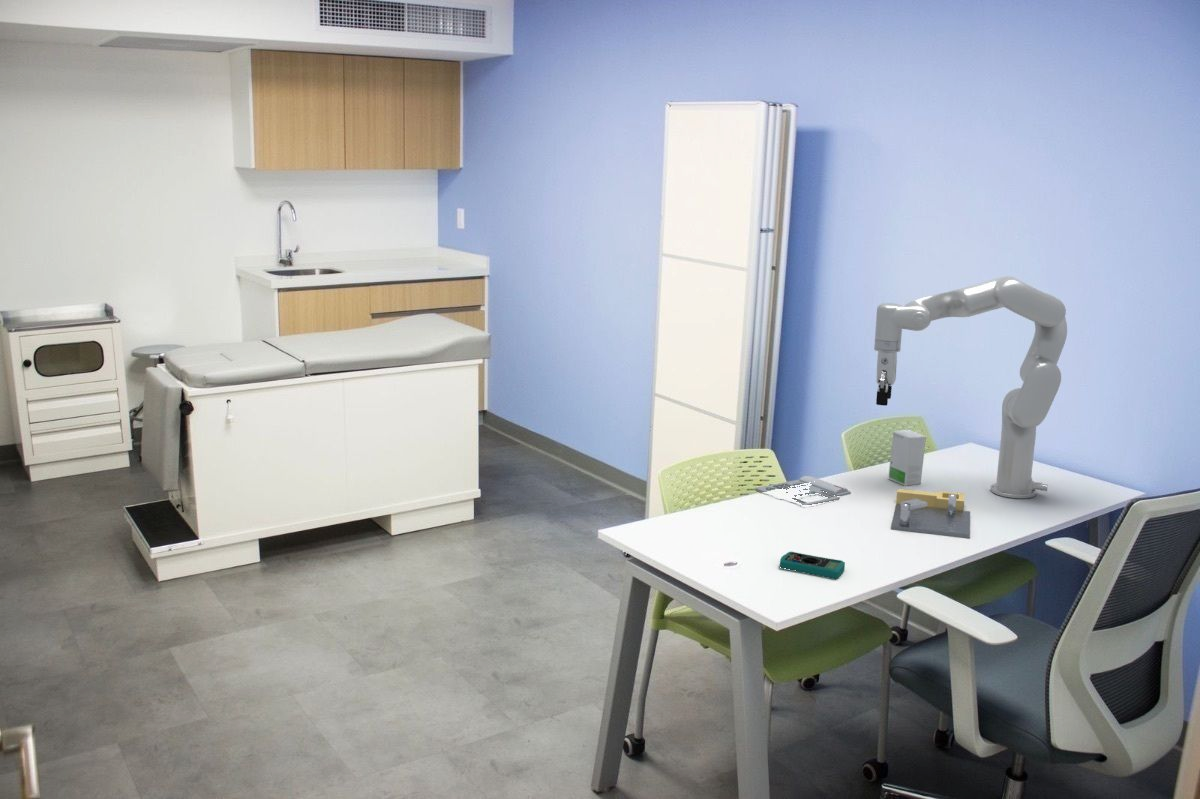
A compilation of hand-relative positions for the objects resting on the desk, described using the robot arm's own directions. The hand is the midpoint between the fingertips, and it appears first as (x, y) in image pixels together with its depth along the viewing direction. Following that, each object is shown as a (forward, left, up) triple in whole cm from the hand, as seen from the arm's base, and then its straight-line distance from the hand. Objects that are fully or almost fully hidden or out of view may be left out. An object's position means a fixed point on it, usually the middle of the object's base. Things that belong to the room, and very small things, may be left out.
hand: (883, 401), depth 314 cm
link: (-16, +15, -26) cm, 34 cm away
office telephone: (+19, +15, -27) cm, 37 cm away
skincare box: (-8, -7, -26) cm, 28 cm away
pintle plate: (-17, +29, -26) cm, 43 cm away
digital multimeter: (+9, +75, -27) cm, 80 cm away
